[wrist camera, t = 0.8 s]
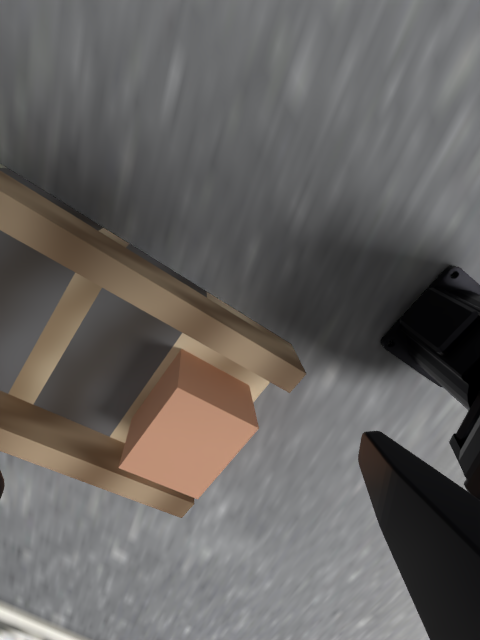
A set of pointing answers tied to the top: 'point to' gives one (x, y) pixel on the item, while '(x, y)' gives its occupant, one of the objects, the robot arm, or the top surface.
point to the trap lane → (103, 341)
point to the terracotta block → (189, 426)
